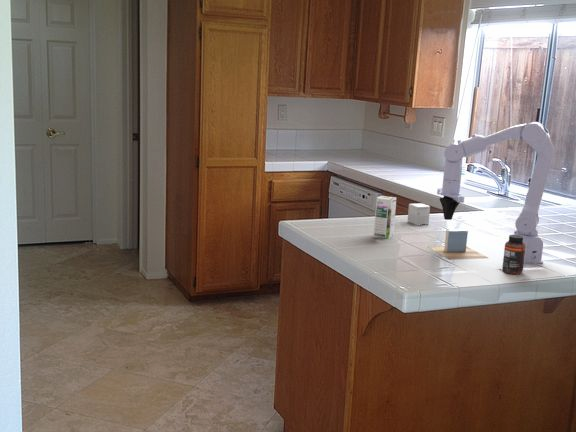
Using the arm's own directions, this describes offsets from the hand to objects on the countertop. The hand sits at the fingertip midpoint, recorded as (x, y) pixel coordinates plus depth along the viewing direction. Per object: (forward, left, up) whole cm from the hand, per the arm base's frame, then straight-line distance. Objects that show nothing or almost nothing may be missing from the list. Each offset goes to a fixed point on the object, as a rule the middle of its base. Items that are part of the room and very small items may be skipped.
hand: (447, 219), depth 224 cm
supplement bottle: (-29, -7, -10) cm, 31 cm away
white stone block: (+34, -7, -10) cm, 37 cm away
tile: (-7, 0, -9) cm, 11 cm away
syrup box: (+15, +16, -10) cm, 24 cm away
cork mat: (-8, 0, -10) cm, 13 cm away
